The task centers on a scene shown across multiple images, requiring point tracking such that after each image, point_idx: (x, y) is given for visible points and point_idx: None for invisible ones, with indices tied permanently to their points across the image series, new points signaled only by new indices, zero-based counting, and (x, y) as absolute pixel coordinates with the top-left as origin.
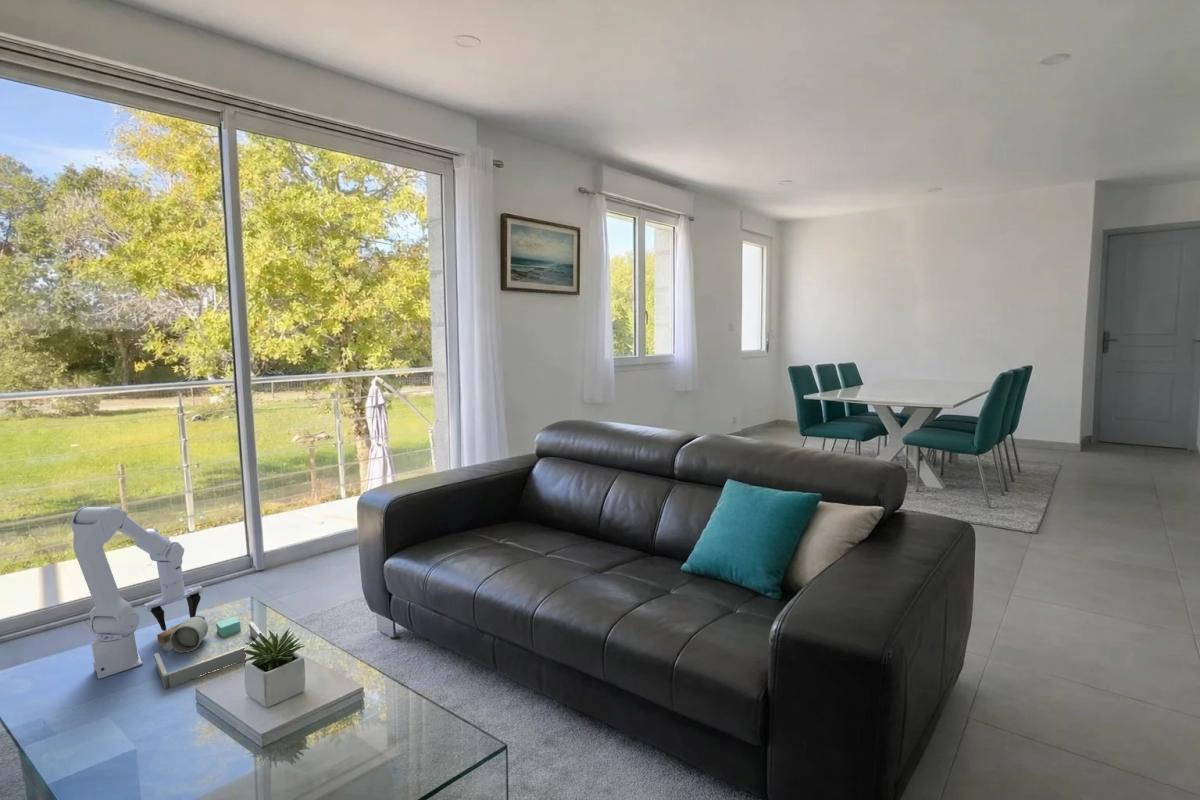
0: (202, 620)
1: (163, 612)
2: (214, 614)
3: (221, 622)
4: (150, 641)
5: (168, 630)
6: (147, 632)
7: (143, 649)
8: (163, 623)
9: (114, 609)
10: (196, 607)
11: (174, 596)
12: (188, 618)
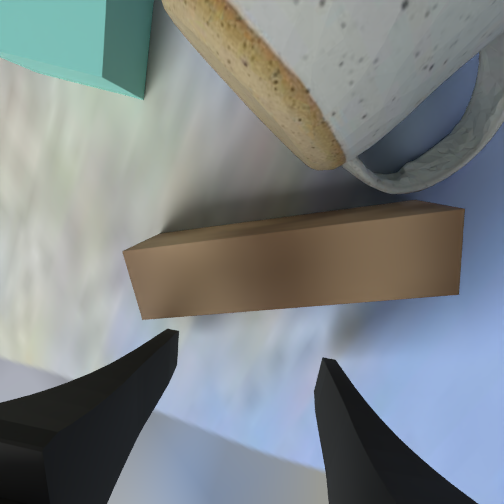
0: None
1: (389, 486)
2: (80, 329)
3: (71, 23)
4: (397, 352)
5: (373, 284)
6: None
7: (479, 299)
8: (349, 393)
9: None
10: (102, 369)
11: None
12: (298, 61)
